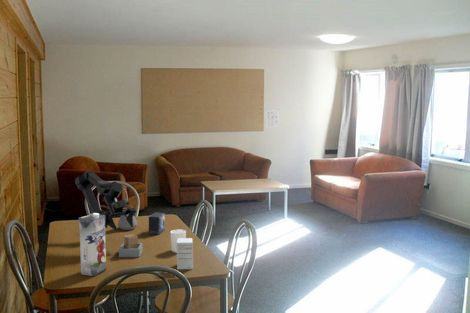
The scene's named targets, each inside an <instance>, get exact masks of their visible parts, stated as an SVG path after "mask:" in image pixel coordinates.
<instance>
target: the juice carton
mask: <svg viewBox="0 0 470 313" xmlns="http://www.w3.org/2000/svg"><path fill="white" fill-rule="evenodd" d="M78 224H79V225H78V226H79V249H80V251H79V253H80V254H79V256H80V258H79V259H80V273H81V275H84V276H90V277H96V276H98V275H99V274H101V273H102V272H105V271H107V253H106V252H107V250H106V249H107V248H106V238H105V230H106V228H105V215H100V214H99V213H93V214H92V213H89V214H88V215H85V216H81V217H78Z"/></svg>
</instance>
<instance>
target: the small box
mask: <svg viewBox="0 0 470 313" xmlns="http://www.w3.org/2000/svg"><path fill="white" fill-rule="evenodd" d="M165 214H166V213H165V212H157V211H156V212H154V213H152V214H150V215H148V235H155V236H157V235H160V234H162V233H163V232H165V227H166V226H165V225H166V224H165V223H166V221H165V220H166V218H165V217H166V215H165Z"/></svg>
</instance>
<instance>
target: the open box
mask: <svg viewBox="0 0 470 313" xmlns="http://www.w3.org/2000/svg"><path fill="white" fill-rule="evenodd" d="M143 244H144V243H143V242H138V248H128V249H124V242H122V244H121V245H120V247H119V248H118V258H140V257H141V255H142V253H143V251H144V248H143V246H144V245H143Z"/></svg>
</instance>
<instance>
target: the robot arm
mask: <svg viewBox="0 0 470 313" xmlns="http://www.w3.org/2000/svg"><path fill="white" fill-rule="evenodd" d="M74 183H75V185H76V187H77V189H78V190H80V191H81V192H82V193H83V196H84V198H85V201H86V204H87V205H88V208H89V210H90V214H93V213H99V214H100V215H105V239H106V237H107V231H106V229H107V228H108V226H109V227H110V228H111V229H113V230H114V231H118V229H117V226H116V223H115V222H114V219H113V218H117V217H121V216H123V215H125V217H127V218H126V220H127V221H128V223H129V224H130V226H131V227H133V216H134V217H135V214H136V213H137V209H136V207H135V206H132V207H131V208H127V210H126V211H123V210H124V207H126V206H130V202H129V199H128V198H124V199H122V200H118V198H119V197H120V195H121V193H122V191H123V189H124V186H123V185H122V184H120V183H119V182H117V181H112V182H110V181H107V180H103V178H100V176H98V175H97V174H96V173H95V171H85V172H83V173H82V174H80V175H78V176H77V177H76V178H75V180H74ZM92 185H93V186H94V187H95V188H96V191H97V192H98V193H99V195H101V196H102V195H103V196H104V197H103V199H102V201H103V202H104V203H106V205H107V206H106V207H108V209H107V211H105V210H101V207H100V206H99V203H98V201H97V199H96V196H95V193H94V192H93V189H92Z"/></svg>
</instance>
